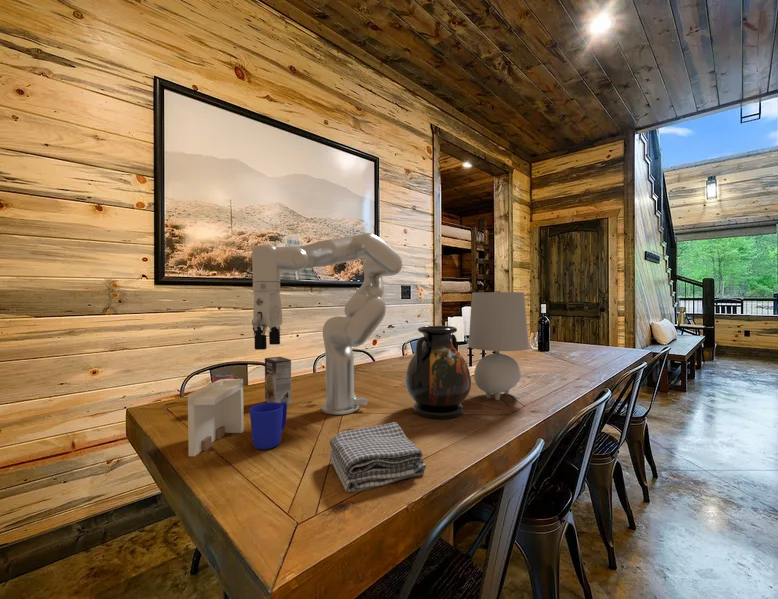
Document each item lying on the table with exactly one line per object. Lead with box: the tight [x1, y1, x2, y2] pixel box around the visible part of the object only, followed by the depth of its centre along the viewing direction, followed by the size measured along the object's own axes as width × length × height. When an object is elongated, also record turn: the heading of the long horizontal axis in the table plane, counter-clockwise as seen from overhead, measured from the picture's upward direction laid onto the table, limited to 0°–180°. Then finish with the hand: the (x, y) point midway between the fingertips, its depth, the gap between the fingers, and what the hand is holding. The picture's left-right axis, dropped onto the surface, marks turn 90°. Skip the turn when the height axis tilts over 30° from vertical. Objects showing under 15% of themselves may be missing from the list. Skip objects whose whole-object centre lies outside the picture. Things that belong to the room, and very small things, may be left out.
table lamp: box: [468, 290, 530, 401], centre depth 131 cm, size 23×22×40 cm
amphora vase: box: [404, 325, 472, 420], centre depth 116 cm, size 22×22×28 cm
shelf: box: [187, 378, 245, 457], centre depth 92 cm, size 6×16×15 cm, turn 179°
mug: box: [249, 402, 288, 450], centre depth 92 cm, size 8×12×10 cm
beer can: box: [212, 372, 235, 383], centre depth 120 cm, size 7×7×12 cm
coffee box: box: [264, 356, 292, 405], centre depth 127 cm, size 9×6×16 cm
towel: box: [329, 421, 427, 493], centre depth 77 cm, size 15×18×8 cm
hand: (268, 346), depth 102 cm, fingers open, 9 cm apart
